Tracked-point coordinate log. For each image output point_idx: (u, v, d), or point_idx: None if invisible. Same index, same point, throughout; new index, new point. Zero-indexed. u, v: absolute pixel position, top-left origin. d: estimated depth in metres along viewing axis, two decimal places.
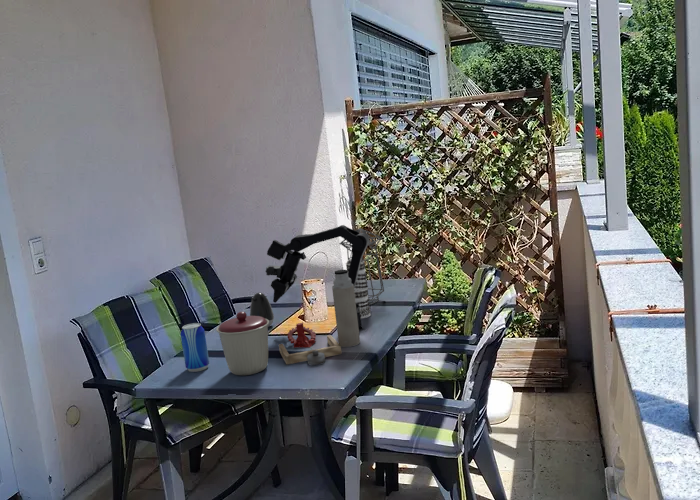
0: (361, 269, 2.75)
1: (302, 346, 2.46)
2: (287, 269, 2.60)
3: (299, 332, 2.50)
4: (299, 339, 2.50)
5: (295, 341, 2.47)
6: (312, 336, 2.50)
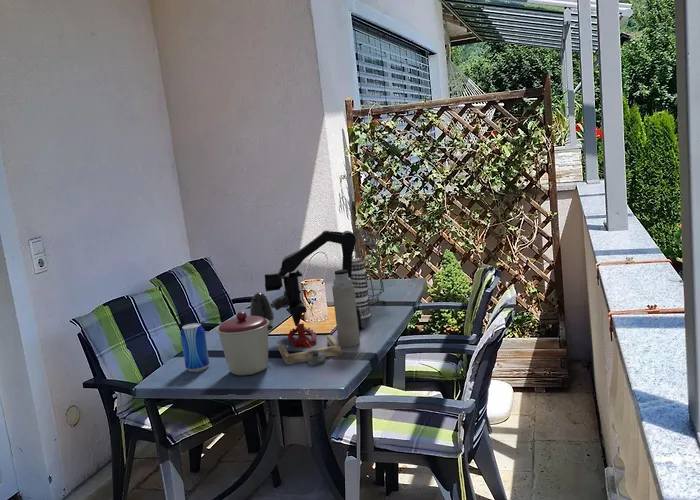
0: (361, 269, 2.75)
1: (303, 346, 2.46)
2: (294, 292, 2.55)
3: (300, 333, 2.49)
4: (300, 339, 2.49)
5: (296, 341, 2.46)
6: (313, 336, 2.50)
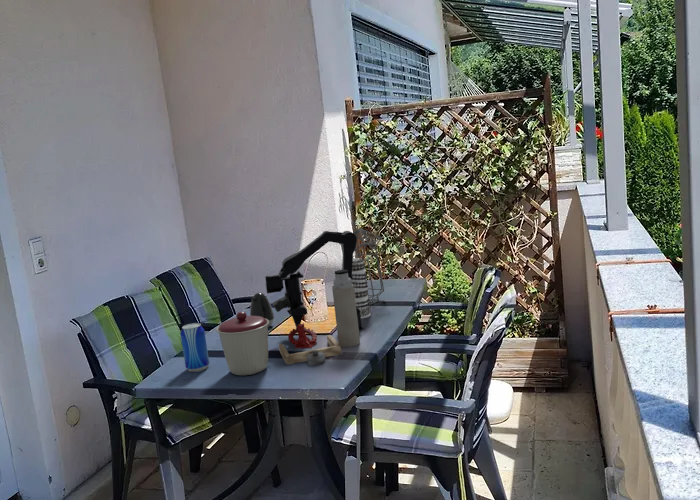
0: (361, 269, 2.75)
1: (303, 347, 2.45)
2: (295, 294, 2.53)
3: (300, 333, 2.49)
4: (300, 340, 2.49)
5: (296, 342, 2.46)
6: (313, 337, 2.49)
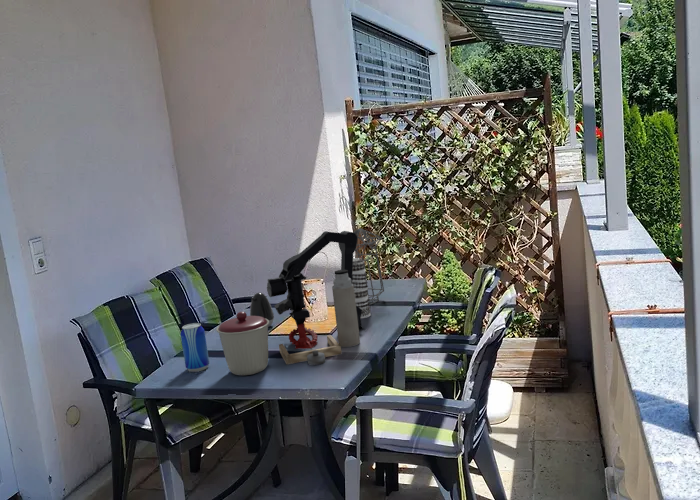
0: (361, 269, 2.75)
1: (304, 347, 2.45)
2: (297, 296, 2.48)
3: (301, 333, 2.48)
4: (300, 340, 2.48)
5: (297, 342, 2.45)
6: (314, 337, 2.49)
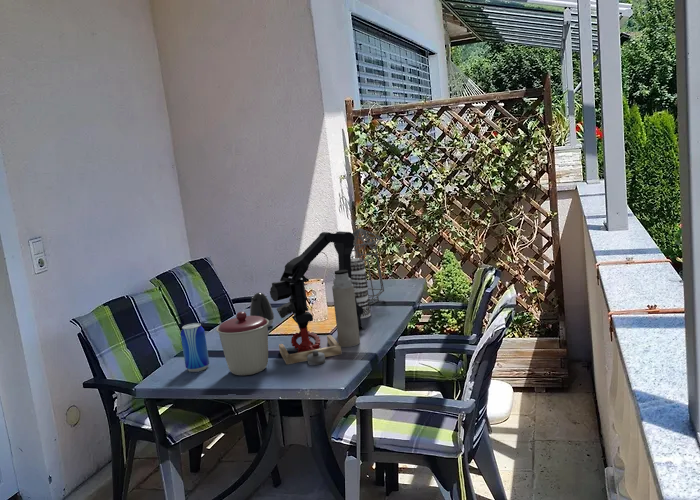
0: (361, 269, 2.75)
1: None
2: (300, 300, 2.43)
3: (303, 337, 2.43)
4: (303, 344, 2.43)
5: (299, 346, 2.40)
6: (317, 341, 2.43)
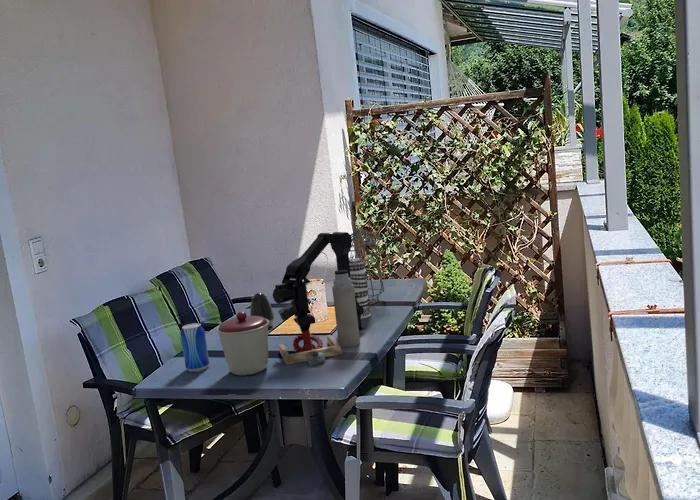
0: (361, 269, 2.75)
1: None
2: (302, 302, 2.39)
3: (306, 340, 2.39)
4: (305, 347, 2.39)
5: (301, 349, 2.36)
6: (319, 344, 2.40)
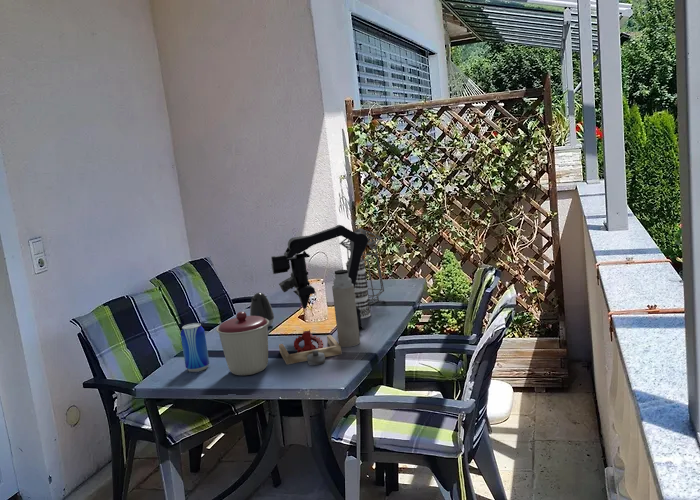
0: (361, 269, 2.75)
1: None
2: (301, 274, 2.52)
3: (306, 340, 2.38)
4: (306, 348, 2.38)
5: (302, 350, 2.36)
6: (319, 344, 2.39)
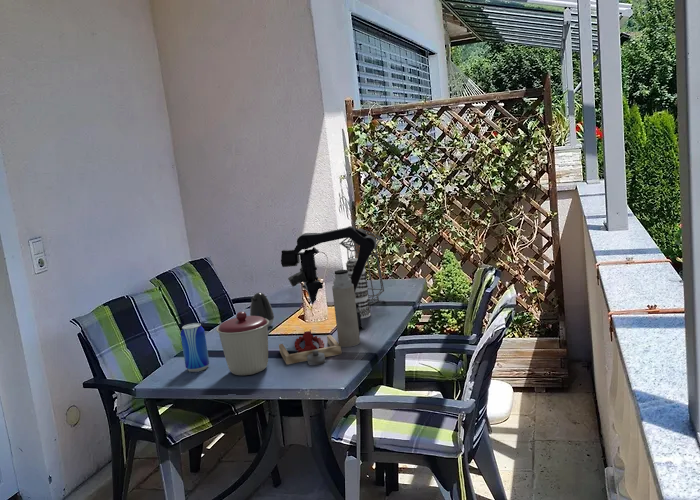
0: None
1: None
2: (310, 269, 2.58)
3: (307, 341, 2.38)
4: (307, 348, 2.38)
5: (302, 350, 2.35)
6: (320, 345, 2.38)
